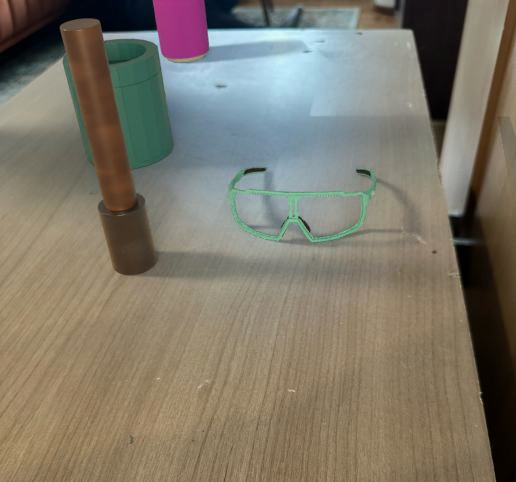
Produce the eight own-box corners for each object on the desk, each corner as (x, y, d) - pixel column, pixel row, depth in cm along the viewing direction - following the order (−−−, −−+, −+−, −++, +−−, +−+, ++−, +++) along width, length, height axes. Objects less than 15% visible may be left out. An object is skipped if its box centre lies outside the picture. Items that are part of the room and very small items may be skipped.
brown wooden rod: (106, 274, 57) (41, 33, 44) (121, 249, 60) (64, 16, 47) (149, 276, 56) (96, 32, 43) (162, 251, 59) (116, 15, 46)
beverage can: (214, 59, 99) (204, -29, 91) (165, 67, 98) (151, -22, 90) (205, 45, 105) (196, -39, 97) (159, 52, 104) (145, -32, 96)
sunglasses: (217, 243, 59) (212, 192, 56) (248, 182, 71) (245, 137, 68) (372, 249, 57) (375, 195, 54) (376, 185, 69) (379, 138, 66)
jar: (74, 169, 74) (47, 70, 66) (104, 132, 81) (83, 39, 74) (159, 170, 72) (141, 68, 65) (183, 132, 79) (168, 37, 72)
